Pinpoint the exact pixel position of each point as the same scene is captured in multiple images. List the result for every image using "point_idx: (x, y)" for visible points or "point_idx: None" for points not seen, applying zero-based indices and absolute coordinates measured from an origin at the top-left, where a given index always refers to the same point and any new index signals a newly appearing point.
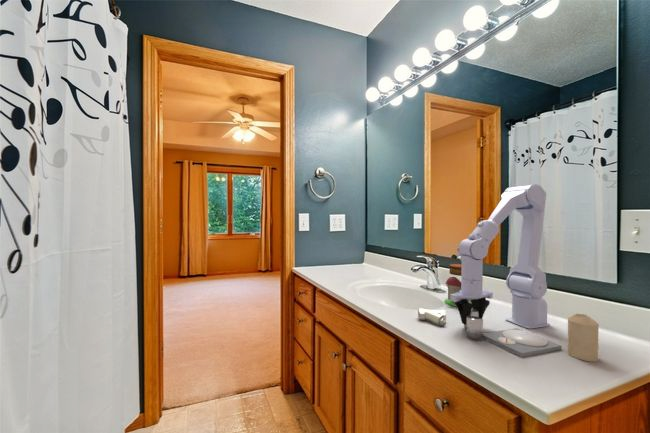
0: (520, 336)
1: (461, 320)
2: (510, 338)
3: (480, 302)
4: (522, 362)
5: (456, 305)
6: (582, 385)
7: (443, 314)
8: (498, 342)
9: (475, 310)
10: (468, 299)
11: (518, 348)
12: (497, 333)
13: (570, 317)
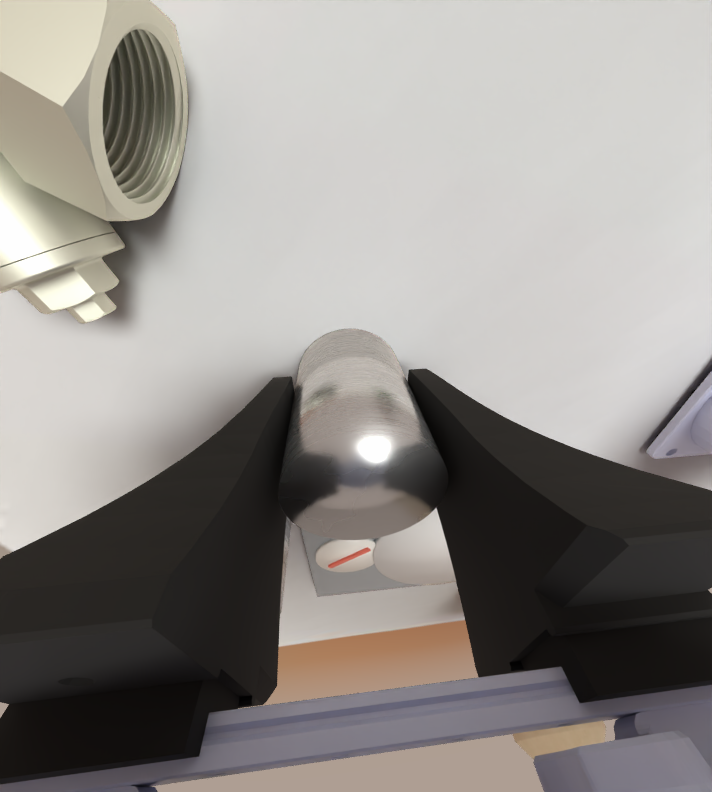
0: (443, 546)
1: (263, 388)
2: (379, 554)
3: (491, 632)
4: (293, 593)
5: (121, 506)
6: (335, 632)
7: (67, 195)
8: (307, 554)
9: (395, 510)
10: (284, 728)
11: (338, 581)
12: None
13: (554, 748)
